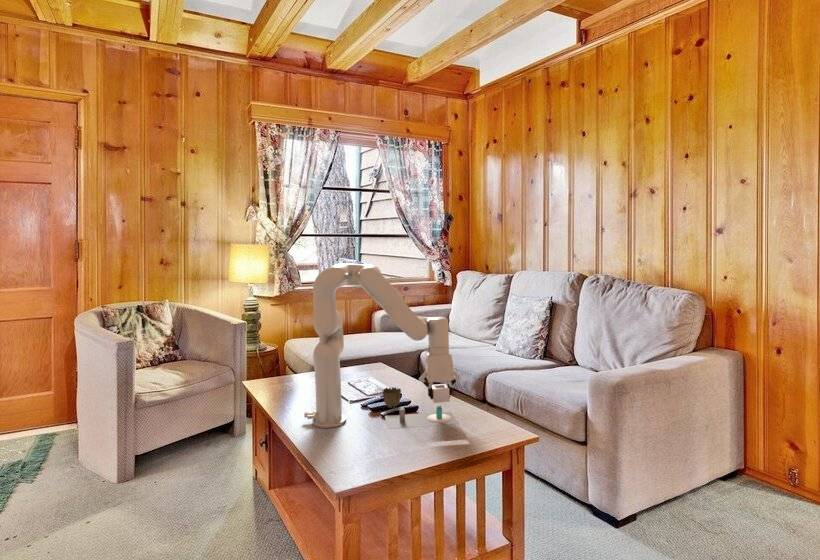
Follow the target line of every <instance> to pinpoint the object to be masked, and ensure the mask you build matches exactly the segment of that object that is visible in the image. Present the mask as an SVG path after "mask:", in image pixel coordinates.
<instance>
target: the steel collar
mask: <svg viewBox="0 0 820 560" xmlns="http://www.w3.org/2000/svg"><path fill="white" fill-rule="evenodd" d="M432 389H433V399H431V402H432V403H433V404H434V403H435V404H436V403H437V404H438V403H449V402H450V401H451V400H450V398H451V397H450V398H449V387H448V386H447V384H446V383H440V384H439V383H438V384H437V383H436V384H432Z"/></svg>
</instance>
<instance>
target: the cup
mask: <svg viewBox="0 0 820 560" xmlns="http://www.w3.org/2000/svg"><path fill="white" fill-rule="evenodd" d="M401 392H402V389H401V388H399V387H389V388H388V387H385V388H383V390H382V395H383V401H384V404H385V405H386V406H387V408H390V409H391V408H392V407H393V408H396V407H397V406H398V405H399V404H400V402H401ZM395 406H396V407H395ZM393 408H392V409H393Z"/></svg>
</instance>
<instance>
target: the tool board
mask: <svg viewBox="0 0 820 560" xmlns="http://www.w3.org/2000/svg"><path fill="white" fill-rule="evenodd" d="M384 418H385V423H386V426H387V429H388V430H390V429H391V430H392V429H393V430H394V429H407V428H422V427H434V426H435V427H437V426H448V425H450V426H451V425H460V423H459V422H458V419H457V418H456V417H455V415H454V414H453V412H452V411H443V407H442V405H437V406H436V409H435V412H427V413H425V412H424V413H411V414H410V413H407V414H406V409H405V408H404V407H403V408H399V414H391V415H384Z"/></svg>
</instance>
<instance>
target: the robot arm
mask: <svg viewBox="0 0 820 560" xmlns="http://www.w3.org/2000/svg"><path fill="white" fill-rule="evenodd" d="M344 286H354V287H361V288H362V289H363V290H364V291H365V292H366V293H367V294H368V295H369V296H370V297H371V298H372V299H373V300H374V301H375V302H376V303H377V305H379V306H380V307H381V308H382V310H384V312H385V313H386V314H387V315H388V316H389V318H391V320H392V322H394V324H395V325H396V326H397V327H398V328H399V329H400V330H401V331H402V332H403V333H404V334H405V335H406V336H407V337H409V338H410V339H411V340H413V341H417V342H418V341H419V342H420V341H423V340H424V339H425V338H426V337H428V346H427V347H425V348H424V352H425V353H426V352H427V355H426V359H425V370H424V371H423V373H422V374H421V375H420V377H419V378H418V381H419V382H421V384H423V385H424V386H426V388H427V396H428V397H429V398H430V400H432V399H433V389H432V385H434V383H440V382H441V383H442V382H446V383H447V384H446V385H447V386H448V387H449V398H451V395H452V394H453V393H452V388H453V386H454V385H455V383H456V382H457V381H458V380H459V379H460V378H461V376H460V374H458V373H457V372H456V371H455V370H454V362H453V356H452V353H451V352H450V343H449V341H450V337H449V334H450V333H449V319H448V318H447V317H445V316H432V317H431V316H430V317H429V316H422V315H421V316H419V315H416V313H415V312H414V311H413V310H412V309H411V308H410V306H408V304H407V302H406V301H405V300H404V297H403V295H402V294H401V293H400V291H399V290H398V289H396V287H395V286H394V285H392V283H391V282H390V281H389V280H388V279H386V277H385V276H384V275H383V274H382V271H381V270H380V268H379V267H377V266H376V265H374V264H359V263H358V264H357V263H341V262H340V263H337V264H336V263H335V264H333V265H331V266H329V267H326V268H324V270H322V271H321V272H320V273H318V275H317V276H316V278H315V279H314V283H313V286H312V297H313V298H312V302H313V303H312V308H313V309H312V310H313V328H314V331H315V332H316V334H317V335H318V337H319V342H318V343H317V344H316V345H315V347H314V350H313V354H312V355H313V356H312V359H313V360H312V361H313V366H314V380H315V381H314V383H315V384H314V385H315V410H313V411H311V412H307V411H306V412H304V414H303V415H304V418H306V419H307V420H311V419H312V425H313V426H314V427H317V428H323V429H329V428H337V427H340V426H342V425H344V424H346V422H347V417H346V416H345V415H344V414H343V412H342V411H343V409H342V408H343V407H342V405H343V404H342V402H343V401H342V378H341V377H342V373H341V364H340V363H341V362H340V359H341V358H340V357H341V355H342V354H343V351H344V349H345V346H344V345H345V342H344V323H343V321H344V320H343V317H342V314H341V313H340V311H339V310H338V309H337V296H336V294H337V293H336V292H337V290H338V289H340V288H342V287H344ZM425 379H426V380H427V381H426V380H425Z"/></svg>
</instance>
